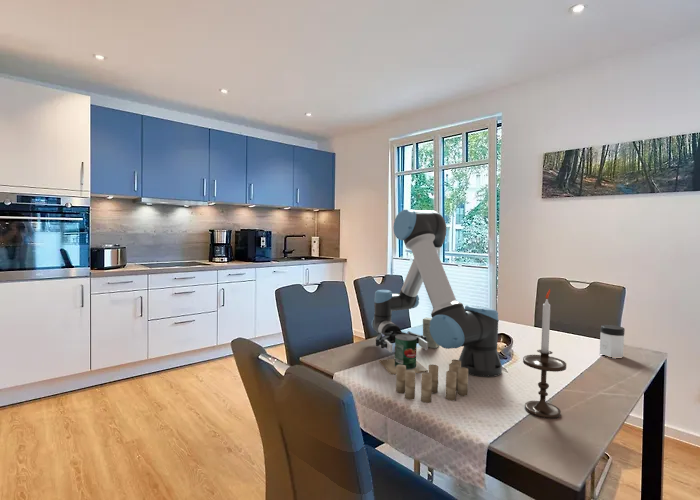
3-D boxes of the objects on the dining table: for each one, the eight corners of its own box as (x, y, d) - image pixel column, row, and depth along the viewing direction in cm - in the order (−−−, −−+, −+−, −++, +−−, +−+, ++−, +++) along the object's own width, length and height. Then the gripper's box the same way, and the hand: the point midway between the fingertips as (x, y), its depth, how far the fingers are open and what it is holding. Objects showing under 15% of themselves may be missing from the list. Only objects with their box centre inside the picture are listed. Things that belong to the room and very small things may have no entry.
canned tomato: (397, 361, 147) (398, 332, 146) (418, 364, 144) (419, 335, 143) (391, 368, 139) (392, 338, 139) (413, 371, 136) (414, 340, 136)
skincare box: (439, 346, 169) (440, 318, 168) (436, 348, 165) (436, 320, 164) (425, 343, 172) (426, 316, 171) (422, 346, 168) (422, 318, 168)
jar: (593, 353, 162) (595, 325, 161) (606, 351, 165) (608, 323, 164) (615, 360, 153) (617, 330, 153) (628, 357, 157) (630, 328, 156)
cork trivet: (412, 359, 151) (413, 357, 151) (428, 371, 138) (428, 370, 138) (378, 361, 148) (378, 359, 148) (390, 374, 135) (391, 373, 135)
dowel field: (460, 383, 128) (461, 359, 127) (473, 404, 112) (474, 377, 112) (393, 381, 129) (394, 358, 128) (398, 402, 113) (398, 375, 113)
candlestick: (571, 413, 108) (577, 289, 106) (551, 424, 101) (557, 292, 100) (534, 399, 116) (538, 284, 115) (513, 408, 110) (518, 287, 108)
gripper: (417, 339, 162) (440, 355, 141) (360, 342, 156) (375, 359, 135) (418, 321, 161) (441, 335, 141) (360, 324, 156) (376, 338, 135)
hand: (409, 347), depth 138 cm, fingers open, 13 cm apart
